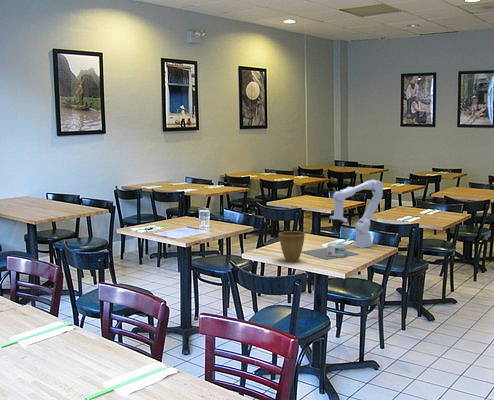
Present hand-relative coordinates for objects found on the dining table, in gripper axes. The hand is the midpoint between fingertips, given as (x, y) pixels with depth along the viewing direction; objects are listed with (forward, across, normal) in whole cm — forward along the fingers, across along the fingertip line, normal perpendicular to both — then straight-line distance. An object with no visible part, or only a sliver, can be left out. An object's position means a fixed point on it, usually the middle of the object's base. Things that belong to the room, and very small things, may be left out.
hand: (338, 231), depth 367 cm
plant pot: (+11, +12, -47) cm, 50 cm away
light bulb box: (+7, +13, -12) cm, 19 cm away
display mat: (+10, +10, -16) cm, 22 cm away
